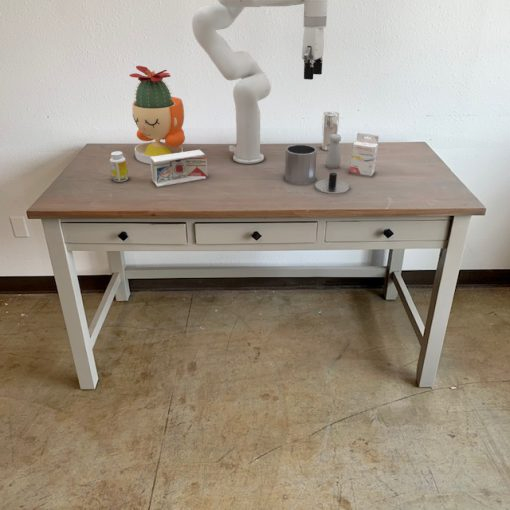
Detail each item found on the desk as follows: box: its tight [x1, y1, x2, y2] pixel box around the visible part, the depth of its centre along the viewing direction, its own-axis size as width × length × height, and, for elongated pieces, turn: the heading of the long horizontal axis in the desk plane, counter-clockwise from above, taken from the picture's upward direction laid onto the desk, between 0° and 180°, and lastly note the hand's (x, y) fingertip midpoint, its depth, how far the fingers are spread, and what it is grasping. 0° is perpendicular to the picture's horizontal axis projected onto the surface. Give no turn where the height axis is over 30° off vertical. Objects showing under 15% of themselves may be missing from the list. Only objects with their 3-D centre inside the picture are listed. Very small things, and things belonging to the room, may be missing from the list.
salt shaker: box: [325, 133, 342, 169], centre depth 186 cm, size 6×6×13 cm
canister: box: [284, 143, 318, 185], centre depth 176 cm, size 11×11×12 cm
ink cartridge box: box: [349, 132, 380, 177], centre depth 180 cm, size 9×5×15 cm, turn 65°
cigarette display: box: [150, 149, 208, 188], centre depth 176 cm, size 20×6×9 cm, turn 115°
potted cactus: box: [129, 65, 186, 165], centre depth 192 cm, size 22×22×35 cm
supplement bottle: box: [109, 150, 129, 183], centre depth 175 cm, size 6×6×10 cm
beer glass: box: [321, 111, 340, 152], centre depth 205 cm, size 7×7×15 cm
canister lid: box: [314, 172, 350, 195], centre depth 170 cm, size 12×12×6 cm
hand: (312, 76), depth 168 cm, fingers open, 9 cm apart
